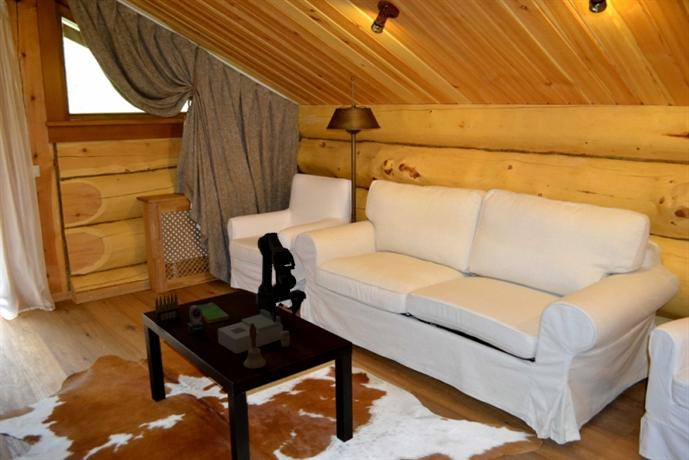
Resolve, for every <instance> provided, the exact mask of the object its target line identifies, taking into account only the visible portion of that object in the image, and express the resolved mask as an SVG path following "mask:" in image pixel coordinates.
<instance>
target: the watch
mask: <svg viewBox="0 0 689 460" xmlns="http://www.w3.org/2000/svg"><path fill="white" fill-rule="evenodd" d="M197 306H198V305H190V306H189V319H190V322H187V323H186V324H187V325H186V326H187V331H188V332H189V333H190V334H194V333H200V332H204V330H205V329H204V323H203V322H202V321H201V320H202V317H201V316H202V313H203V312H202V311H201V309H199V307H197Z"/></svg>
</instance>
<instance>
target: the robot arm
mask: <svg viewBox="0 0 689 460" xmlns="http://www.w3.org/2000/svg"><path fill="white" fill-rule="evenodd" d="M257 249H258V250H259V253H260V254H261V259H262V260H261V261H262V262H261V283H260V284H259V286H258V288H257V292H256V294H255V304H256V305H257V314H256V315H260V310H261V309H264V310H266V311H268V312H269V313H270V315H271V318H272V320H273V322H274V323H275V322H276V316H278V315H277V312H278V307H277V304H279V303H283V302H286V301H289V300H290V303H291V315H292V317H293V318H295V317H296V315H297V313H298V310H299V308H300V307H301V305H302V303H304V301H305V300H307V294H306V292H305V291H303V290H301V289H295V290H292V289H294V288H295V287H296V286H297V282H298V281H297V278H296V277H295V275H294V274H292V270H296V268H295V267H296V261H295V257H294V255H293V253H292V252H291V251H290V250H289V248H287V247H284V246H283V244H282V242H281V241H280V239H279V235H278V233H277V232H276V231H275V232H266V233H264V235H263V236H260V237H259V238H258V239H257ZM273 270H274V273H275V274H274V275H275V276H274V277H275V283H273Z"/></svg>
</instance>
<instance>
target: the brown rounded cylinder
mask: <svg viewBox="0 0 689 460" xmlns="http://www.w3.org/2000/svg"><path fill="white" fill-rule="evenodd" d="M280 346H281V347H283V348H288V347H289V346H290V331H288V330H283V331H282V332H281V339H280Z"/></svg>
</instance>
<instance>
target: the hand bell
mask: <svg viewBox="0 0 689 460" xmlns="http://www.w3.org/2000/svg"><path fill="white" fill-rule="evenodd" d="M249 331H250V337H251V340H252V349H250V350H247V352H248V353H247V358H246V359H245V361H244V362H243V366H244V367H245V368H247V369H253V370H255V369H260V368H262V367H264V366H266V364H267V360H265V358H263V356H262V353H261V349H260V348H259V347H256V335H257V331H256V327H255V325H254V323H251V326H250V330H249Z"/></svg>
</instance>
